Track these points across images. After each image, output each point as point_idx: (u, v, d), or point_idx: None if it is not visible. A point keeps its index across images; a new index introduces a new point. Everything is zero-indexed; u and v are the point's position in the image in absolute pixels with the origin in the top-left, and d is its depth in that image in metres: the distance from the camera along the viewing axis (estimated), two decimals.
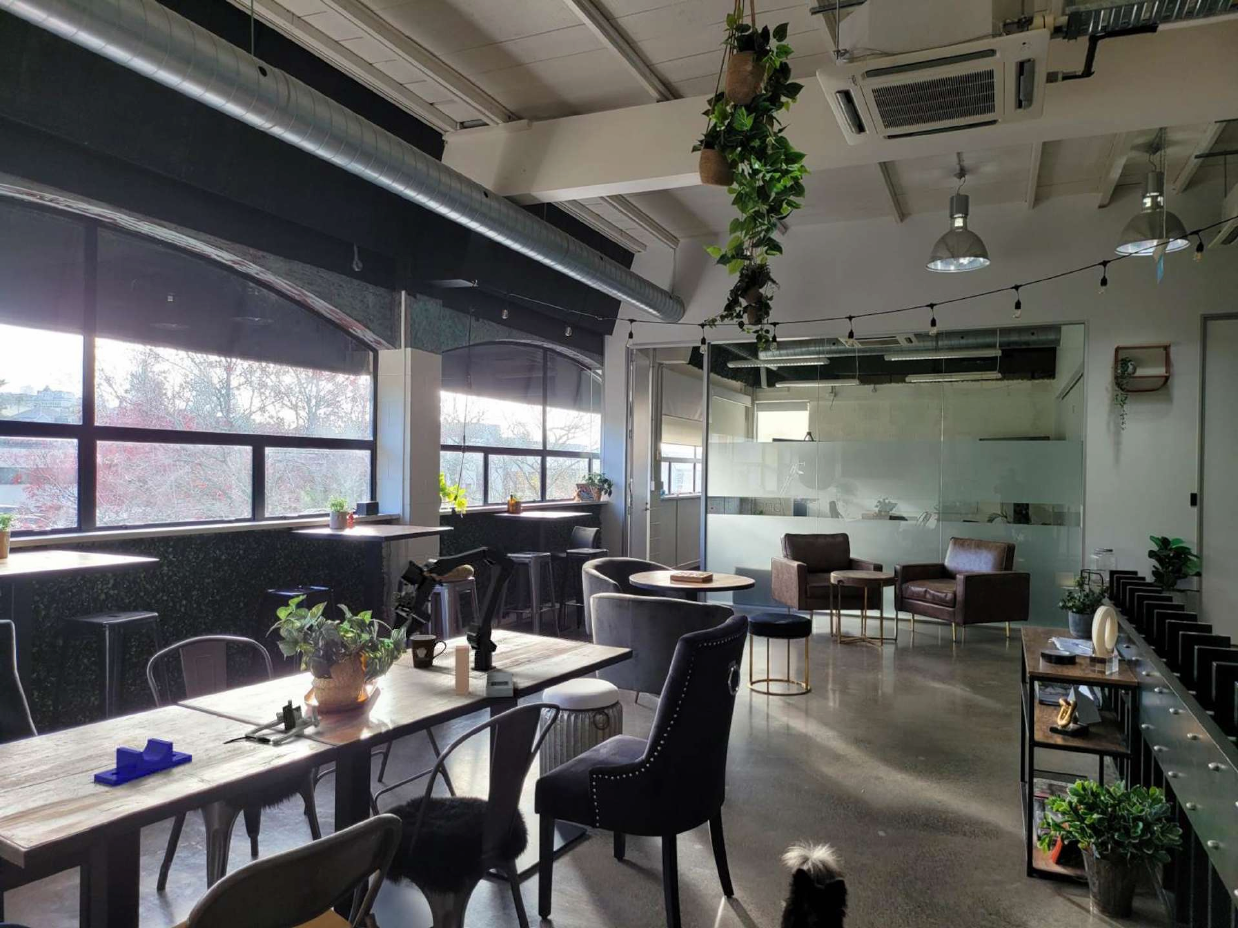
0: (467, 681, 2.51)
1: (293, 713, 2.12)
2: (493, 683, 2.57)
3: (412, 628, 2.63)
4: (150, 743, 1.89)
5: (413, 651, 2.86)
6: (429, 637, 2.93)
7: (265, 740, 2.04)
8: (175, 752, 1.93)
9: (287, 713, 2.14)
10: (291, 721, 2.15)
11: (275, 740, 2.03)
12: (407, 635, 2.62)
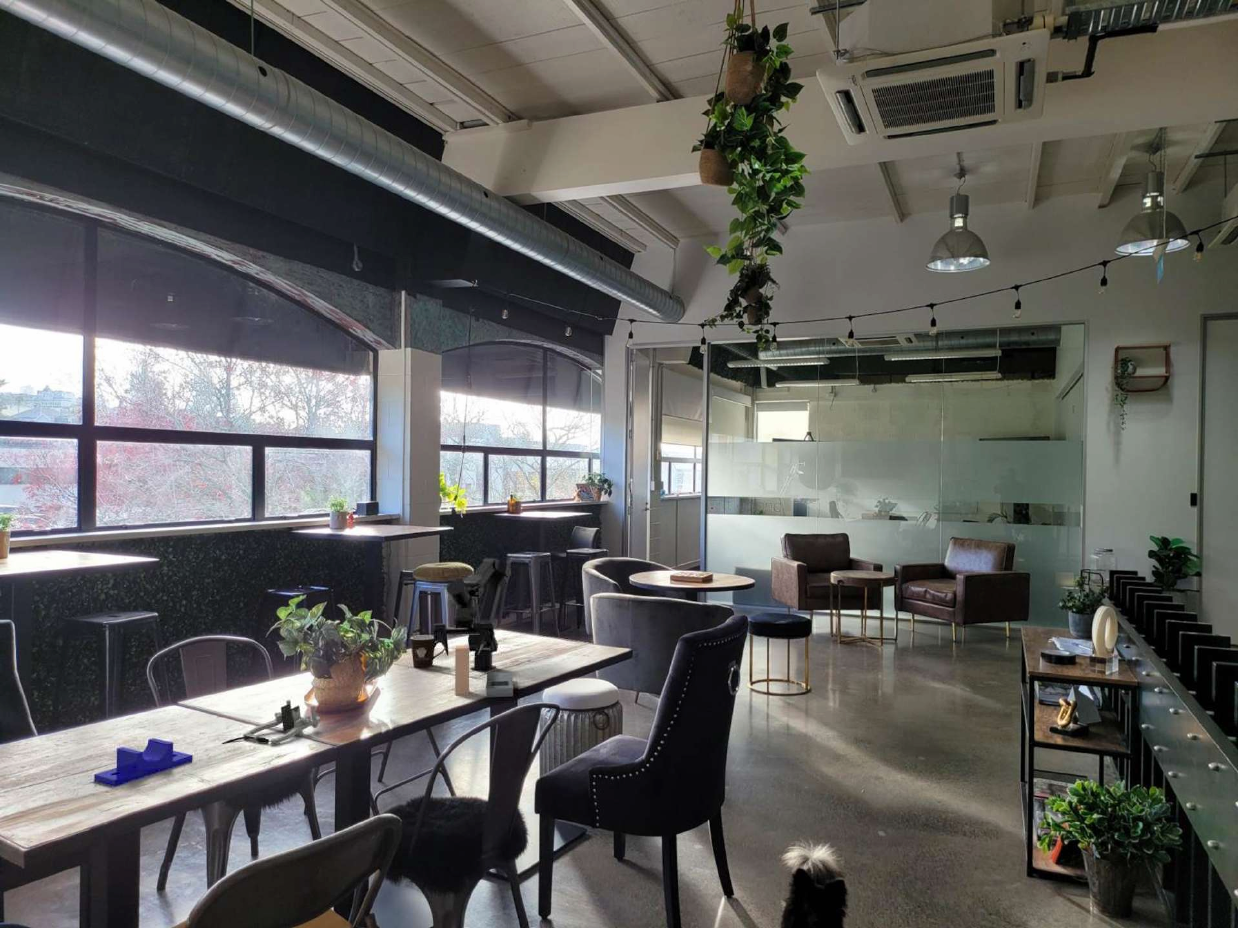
0: (467, 681, 2.51)
1: (292, 713, 2.12)
2: (493, 683, 2.57)
3: (481, 644, 2.60)
4: (151, 743, 1.89)
5: (413, 651, 2.86)
6: (429, 637, 2.93)
7: (263, 740, 2.04)
8: (176, 752, 1.93)
9: (286, 713, 2.14)
10: (290, 721, 2.15)
11: (273, 740, 2.03)
12: (479, 651, 2.58)
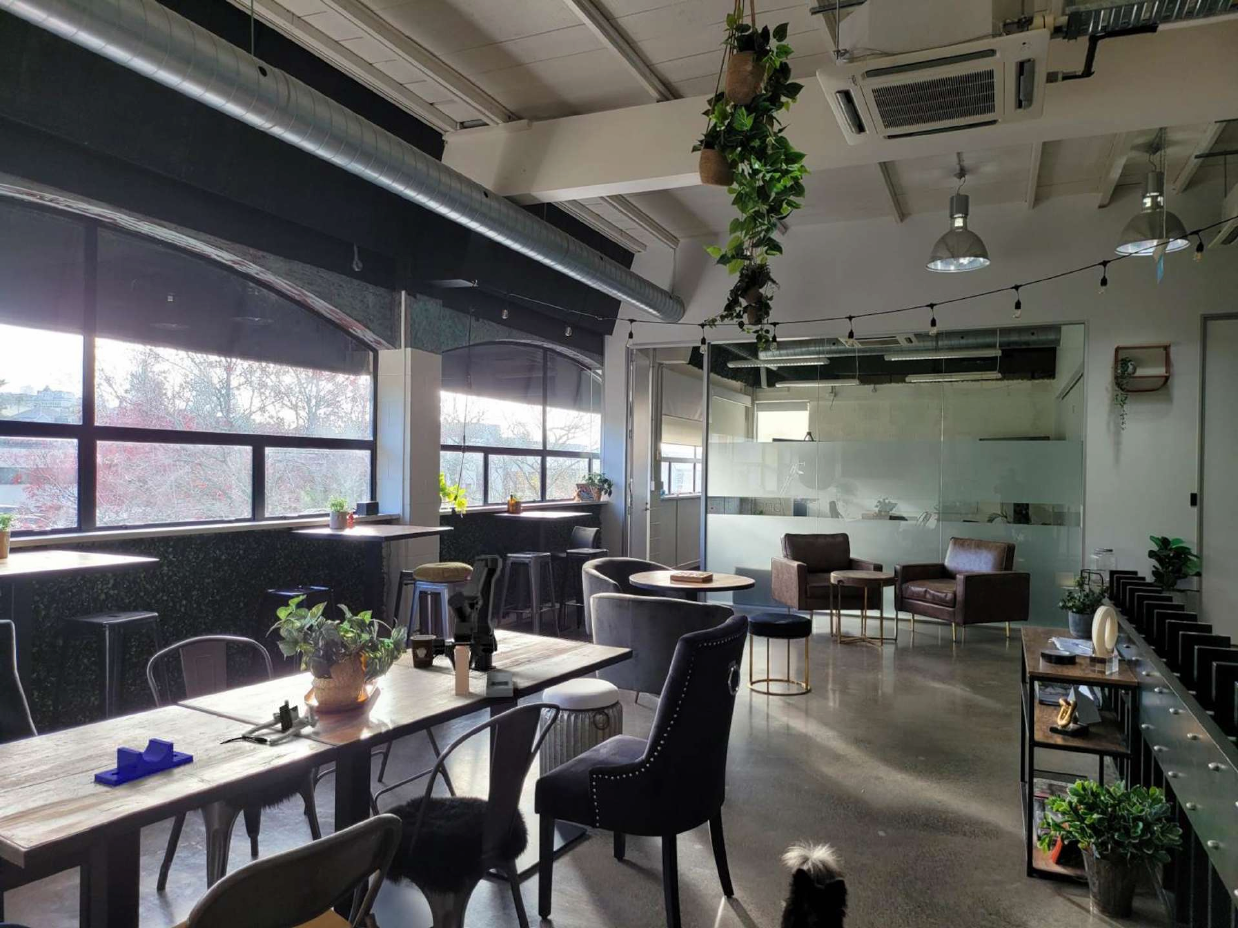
0: (467, 681, 2.51)
1: (290, 713, 2.12)
2: (493, 683, 2.57)
3: (473, 659, 2.55)
4: (151, 743, 1.89)
5: (413, 651, 2.86)
6: (429, 637, 2.93)
7: (262, 740, 2.04)
8: (177, 752, 1.93)
9: (284, 713, 2.14)
10: (288, 721, 2.15)
11: (272, 740, 2.03)
12: (471, 666, 2.53)
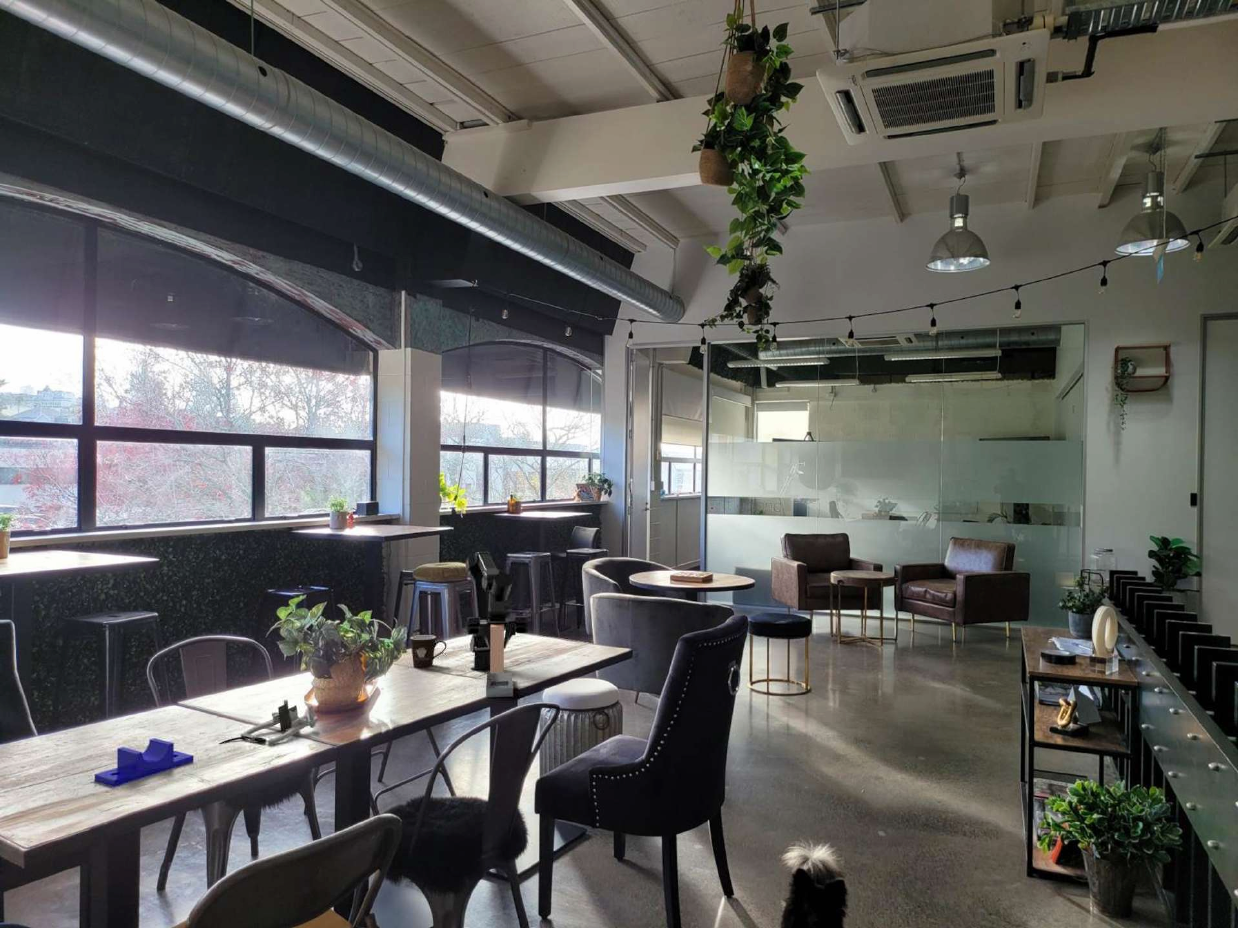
0: (502, 659, 2.52)
1: (289, 713, 2.12)
2: (493, 683, 2.57)
3: (508, 638, 2.56)
4: (152, 743, 1.89)
5: (413, 651, 2.86)
6: (429, 637, 2.93)
7: (261, 740, 2.04)
8: (177, 752, 1.93)
9: (283, 713, 2.14)
10: (287, 721, 2.15)
11: (271, 740, 2.03)
12: (506, 645, 2.54)
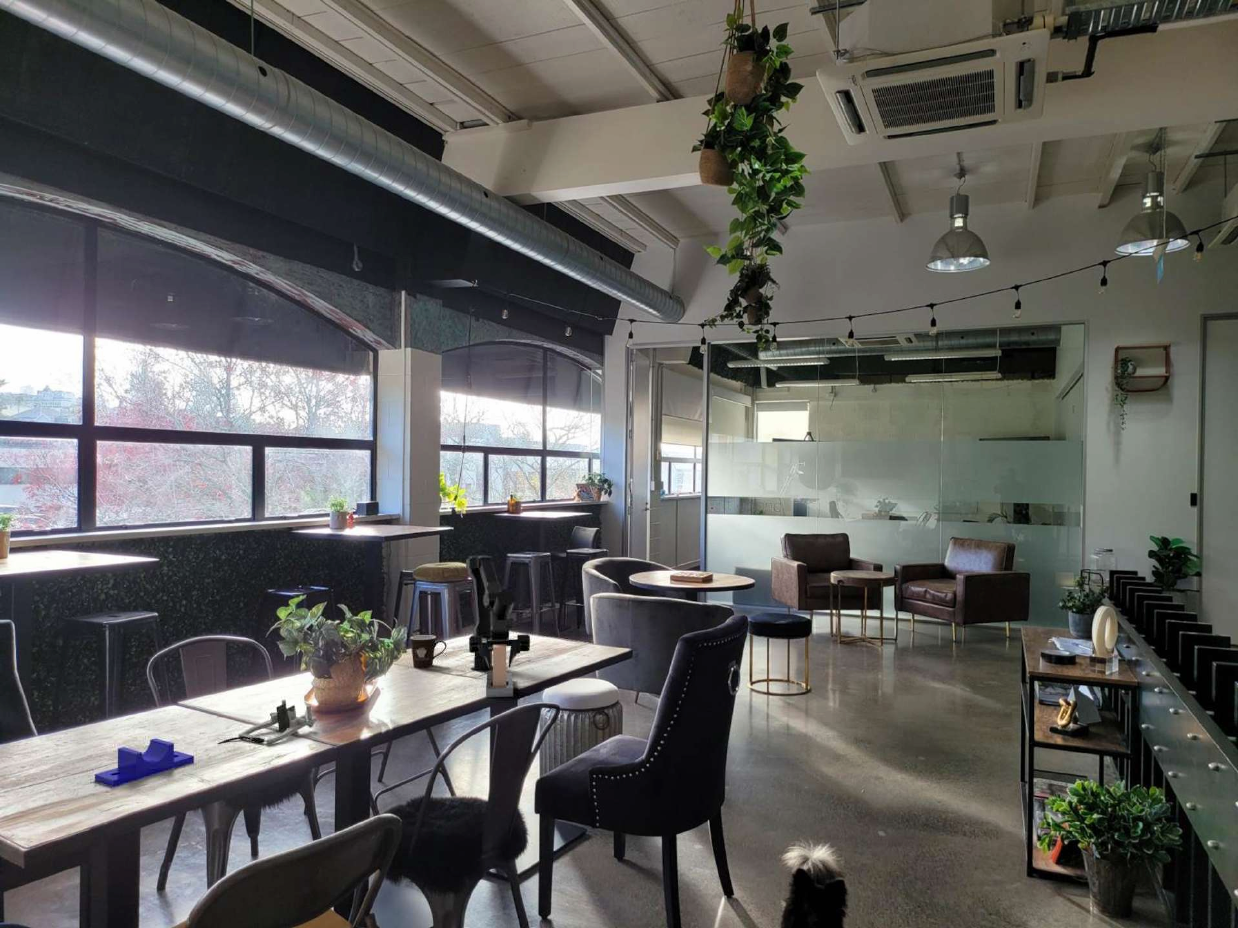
0: (505, 680, 2.52)
1: (287, 713, 2.12)
2: None
3: (513, 656, 2.56)
4: (152, 743, 1.89)
5: (413, 651, 2.86)
6: (429, 637, 2.93)
7: (259, 740, 2.04)
8: (178, 753, 1.93)
9: (281, 713, 2.14)
10: (285, 721, 2.15)
11: (269, 740, 2.03)
12: (511, 663, 2.54)
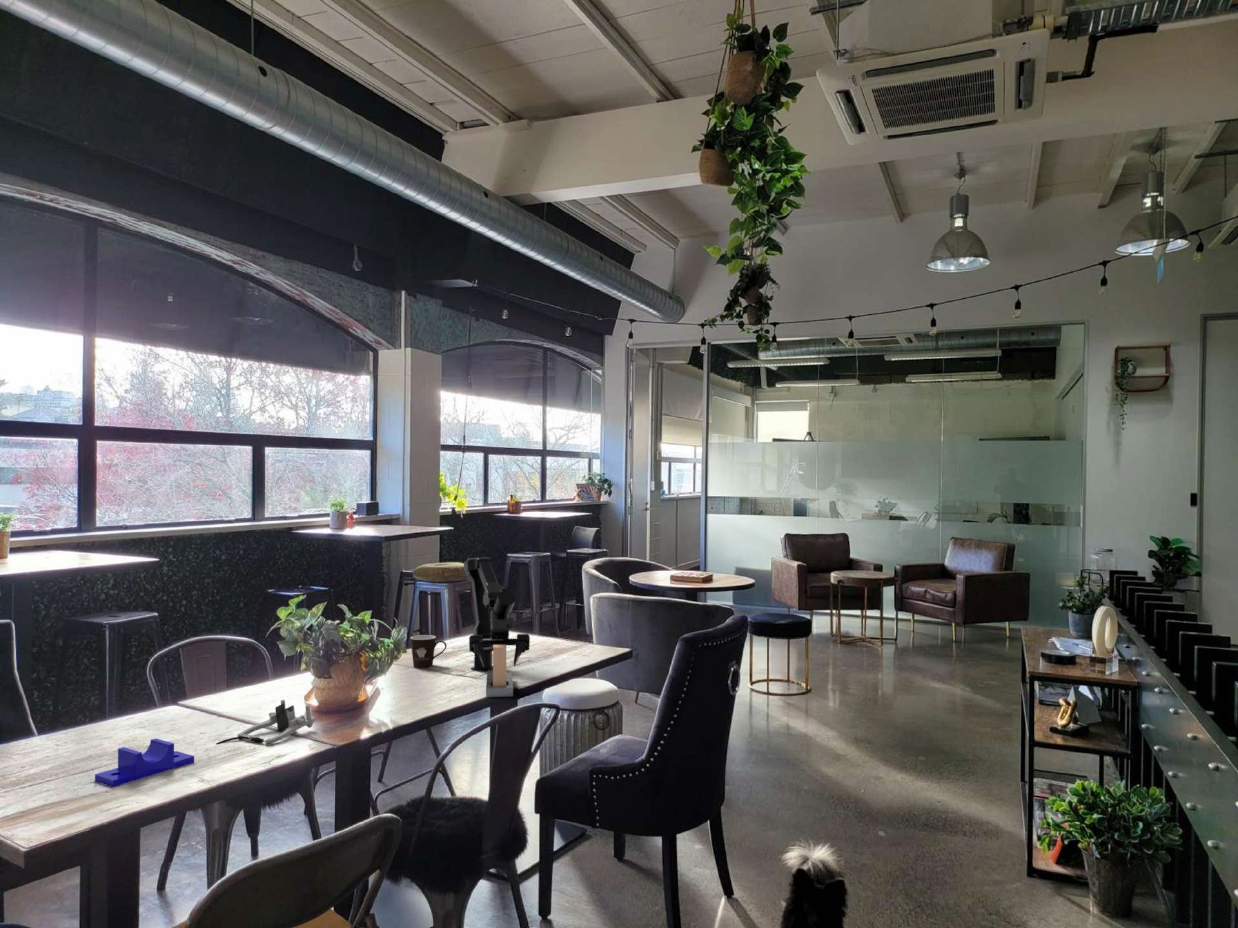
0: (505, 680, 2.52)
1: (286, 713, 2.12)
2: None
3: (518, 655, 2.59)
4: (153, 743, 1.89)
5: (413, 651, 2.86)
6: (429, 637, 2.93)
7: (258, 740, 2.04)
8: (178, 753, 1.93)
9: (280, 713, 2.14)
10: (284, 721, 2.15)
11: (268, 740, 2.03)
12: (516, 662, 2.57)
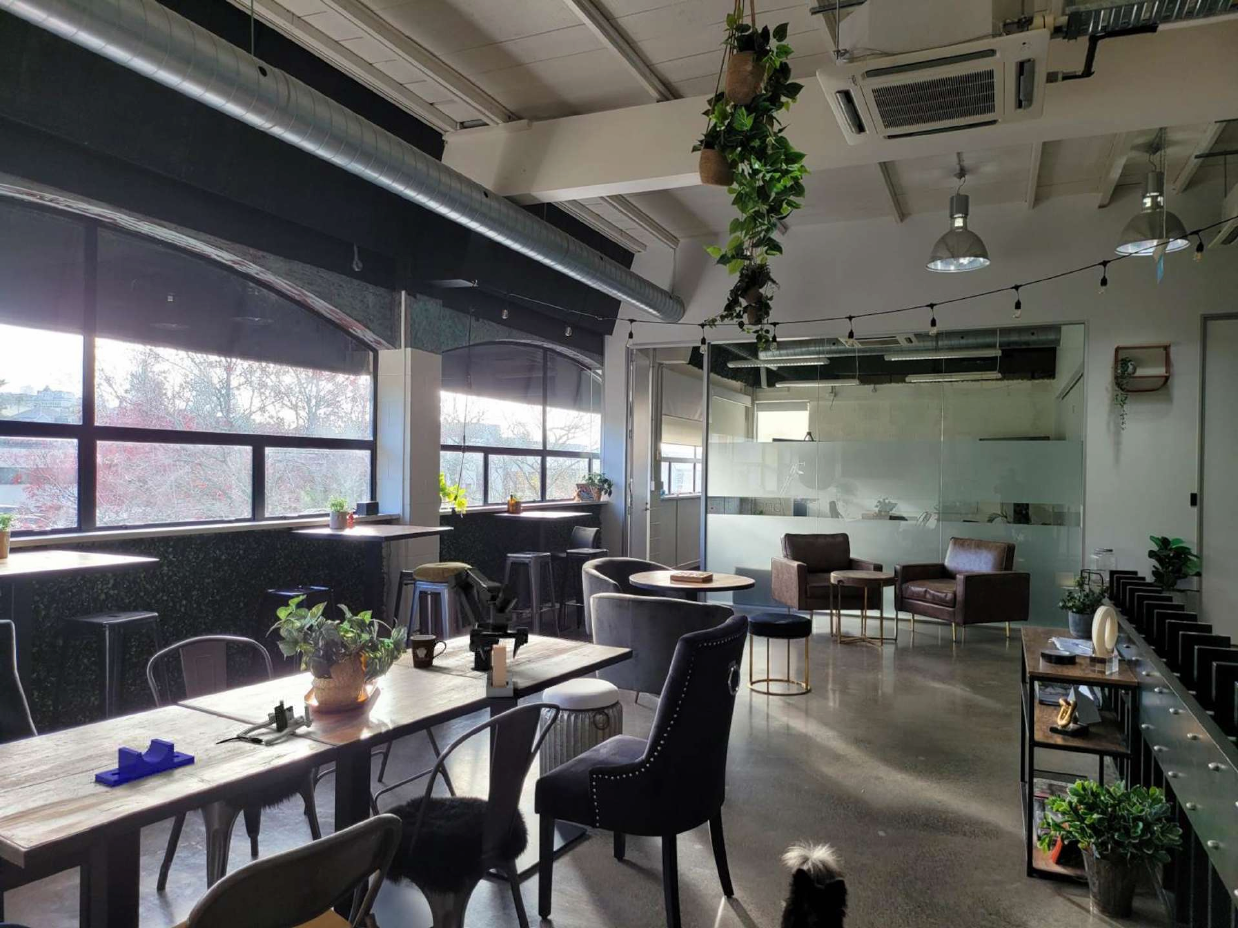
0: (505, 680, 2.52)
1: (285, 713, 2.12)
2: None
3: (517, 648, 2.66)
4: (153, 744, 1.89)
5: (413, 651, 2.86)
6: (429, 637, 2.93)
7: (257, 740, 2.04)
8: (179, 753, 1.93)
9: (279, 713, 2.14)
10: (283, 721, 2.15)
11: (267, 740, 2.03)
12: (515, 655, 2.64)
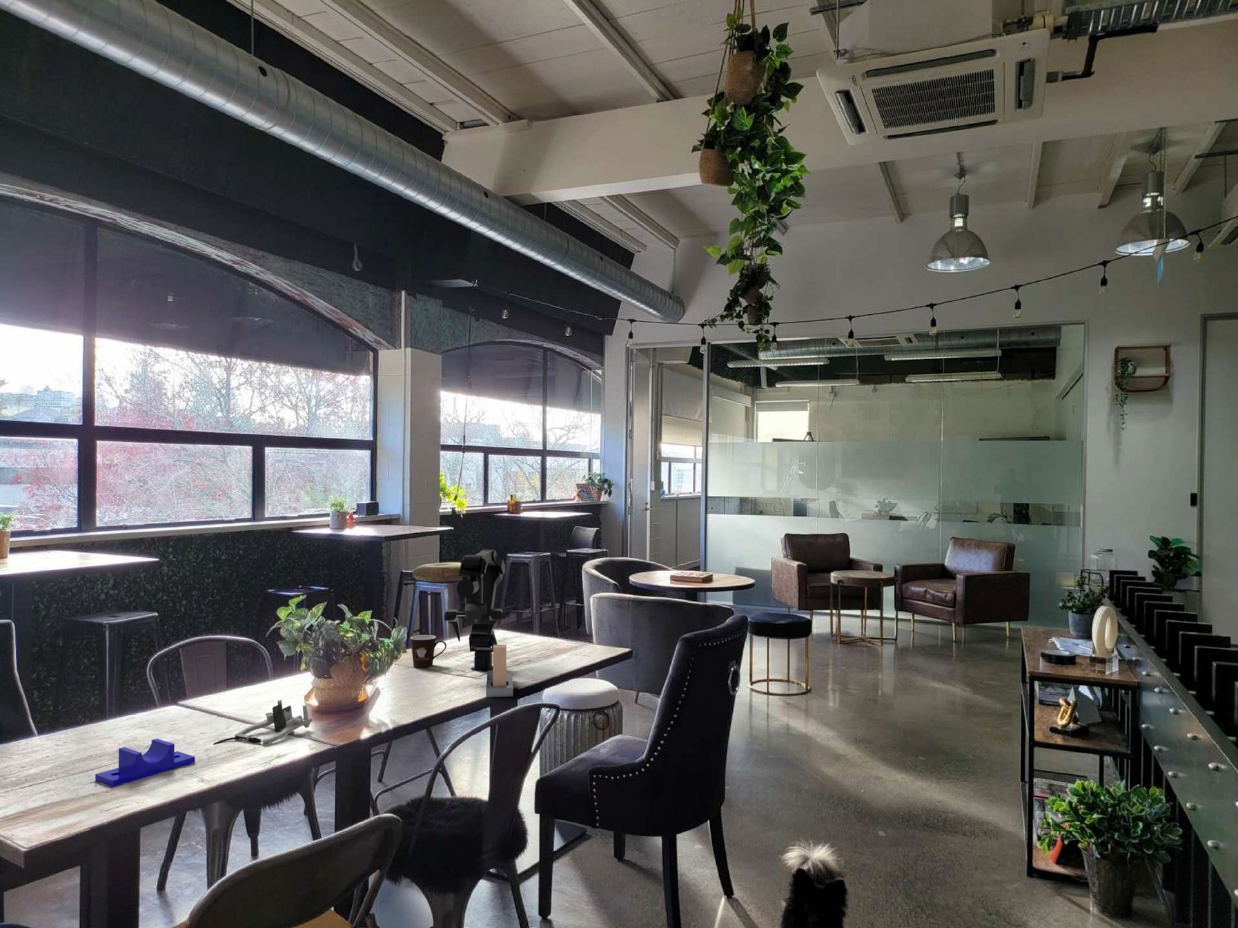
0: (505, 680, 2.52)
1: (283, 713, 2.12)
2: None
3: None
4: (154, 744, 1.89)
5: (413, 651, 2.86)
6: (429, 637, 2.93)
7: (255, 740, 2.04)
8: (180, 753, 1.93)
9: (277, 713, 2.14)
10: (281, 721, 2.15)
11: (266, 740, 2.03)
12: (489, 636, 2.73)
